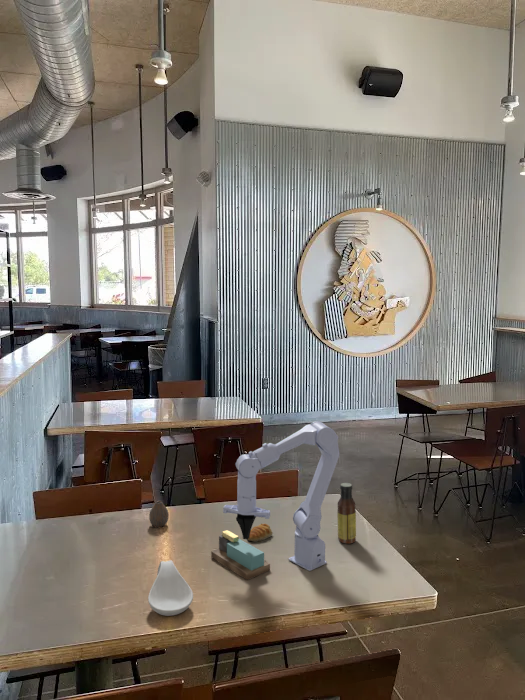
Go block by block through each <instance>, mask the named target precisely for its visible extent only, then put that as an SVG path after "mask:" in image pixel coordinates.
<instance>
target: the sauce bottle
mask: <svg viewBox="0 0 525 700" xmlns="http://www.w3.org/2000/svg"><path fill="white" fill-rule="evenodd" d="M339 486H340V487H339V488H340V498H339V500H338V501H337V512H336V513H337V540H338V541H339V542H340V543H342V544H346V545H349V544H350V545H351V544H354V543H356V540H357V514H356V513H357V512H356V511H357V510H356V502H355V500H354V498H353V492H352V490H353V484H352V483H349V482H342V483H340V485H339Z"/></svg>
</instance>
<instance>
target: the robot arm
mask: <svg viewBox="0 0 525 700" xmlns="http://www.w3.org/2000/svg"><path fill="white" fill-rule="evenodd" d="M339 439H340V438H339V436H338V434H337V433H336V431H335V430H334V429H333V428H332V427H329V426H327V425H326V424H325V423H324V422H322V421H320V420H315V421H313V422H311V423H309V424H306V425H304V426H303V427H302V428H301V429H299V430H297V431H296V432H294V433H292V434H291V435H289V436H287V437H286V438H284V439H282V440H280V441H279V442H277V443H272V442H269V443H267V442H265V443H263V444H262V446H261V447H259V448H257V449H255V450H253V451H252V450H250V451H249V452H248V453H245V454H244V453H243V454H241V455H240V456H239V457H238V458H237V459H236V462H235V464H234V465H235V467H236V469H237V482H236V483H237V486H236V489H237V493H236V494H237V496H236V497H237V498H236V499H237V500H236V501H237V502H236V503H237V504H225V505H224V506H223V507H222V509H223V510H222V513H223V514H227V513H228V514H233V515H234V514H235V515H237V516H236V517H235V519H236V522H237V524H238V525H239V528H240V531H241V534H242V539H244V540H247V539H248V538H249V536H250V531H251V530H252V528H253V524H254V522H255V520H256V518H257V517H258V518H264V519H266V520H269V519H270V517H271V510H269V509H264V508H263V507H262V508H261V507H257V475H258V473H259V471H260V470H262V469H264V468H265V467H267V466H269V465H271V464H273V463H275V462H277V461H279V459H280V457H281V455H282V454H284V453H287V452H288V451H290V450H292V449H295V448H297V447H299V446H301V445H303V444H304V445H310V446H317V448H318V450H319V452H320V454H321V455H320V458H319V461H318V463H317V466H316V469H315V471H314V474H313V477H312V480H311V483H310V485H309V488H308V490H307V494H306V497H305V498H304V499H305V500H304V501H302V502H301V503H300V504H299V506H298V508H297V509H296V510H295V512H294V513H293V516H292V521H293V523H294V525H295V530H294V553H293V554H294V555H293V556H290V557H288V561H290V562H292V563H293V564H296V565H297V566H299V567H301V568H304V570H307V571H308V572H311V571H313V570H315V569H317V568H320V567H321V566H323V565H326V564H327V563H328V562H327V561H326V543H325V541H324V540H323V539H322V538H321V537H320V536H319V533H320V532H321V521H322V518H323V517H322V505H323V502H324V500H325V497H326V494H327V491H328V489H329V486H330V483H331V480H332V478H333V475H334V472H335V469H336V467H337V464H338V461H339V459H340V449H339V448H340V447H339Z"/></svg>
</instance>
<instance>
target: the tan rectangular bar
mask: <svg viewBox="0 0 525 700" xmlns="http://www.w3.org/2000/svg"><path fill="white" fill-rule="evenodd" d="M221 535H222V537H224V538H226V539H228V540H229V541H231V542H233V543H235V542H237V541H239V539H240V537H239V535H237V534H235V533H233V532H232V531H230V530H228V529H227V530H223V531H221Z"/></svg>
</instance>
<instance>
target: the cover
mask: <svg viewBox="0 0 525 700" xmlns="http://www.w3.org/2000/svg"><path fill="white" fill-rule="evenodd" d="M227 556H228V557H230V558H231V559H233V560H235V561H236V562H238V563H240V564H241V565H243V566H244V567H246V568H248V569H249V570H251V571H252V570H254V569H257V568H259V567H261V566H264V561H265V552H264V551H262V550H260V549H259V548H256V547H255V546H253V545H251V544H250V543H247V542H246V541H244V540H242V539H241V538H239V541H237V542H235V543H233V542H230V543H227Z"/></svg>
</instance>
